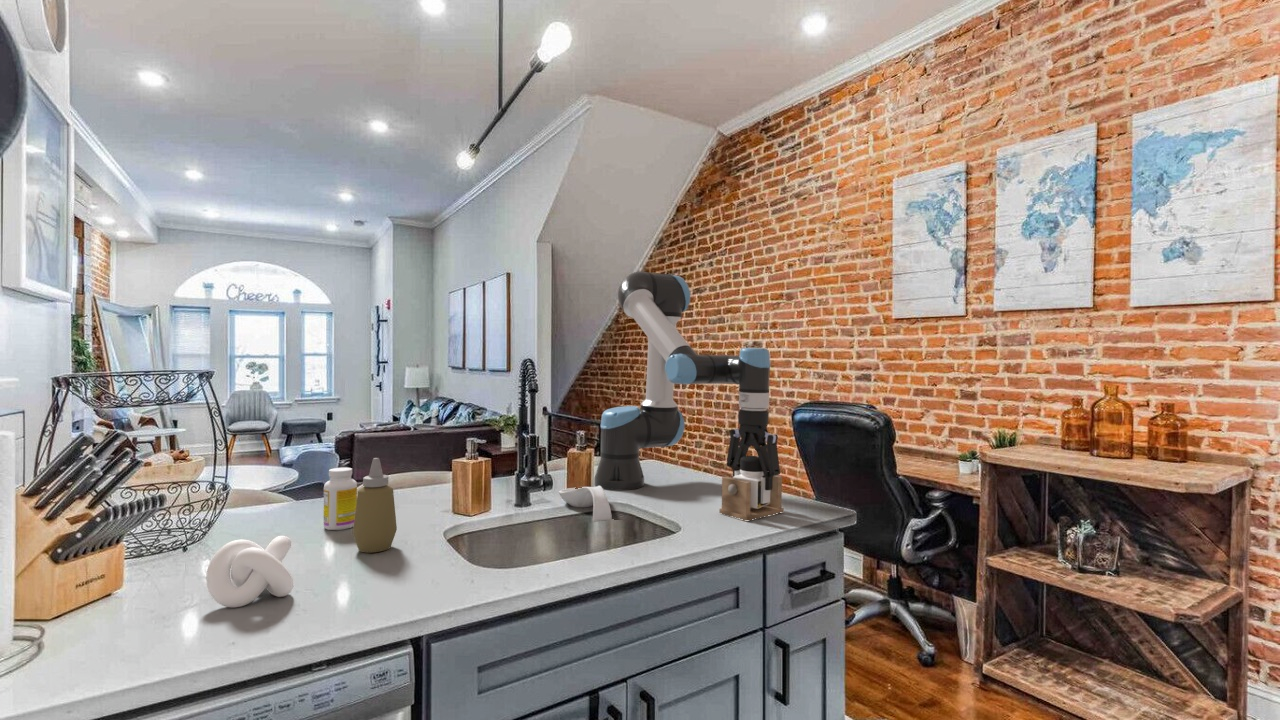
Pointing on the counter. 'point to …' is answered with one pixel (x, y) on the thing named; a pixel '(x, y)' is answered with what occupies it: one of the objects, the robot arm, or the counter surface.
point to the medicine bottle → (752, 478)
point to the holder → (748, 499)
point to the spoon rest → (589, 501)
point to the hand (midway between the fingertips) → (751, 499)
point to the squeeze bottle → (375, 512)
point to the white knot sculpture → (248, 571)
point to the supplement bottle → (340, 499)
